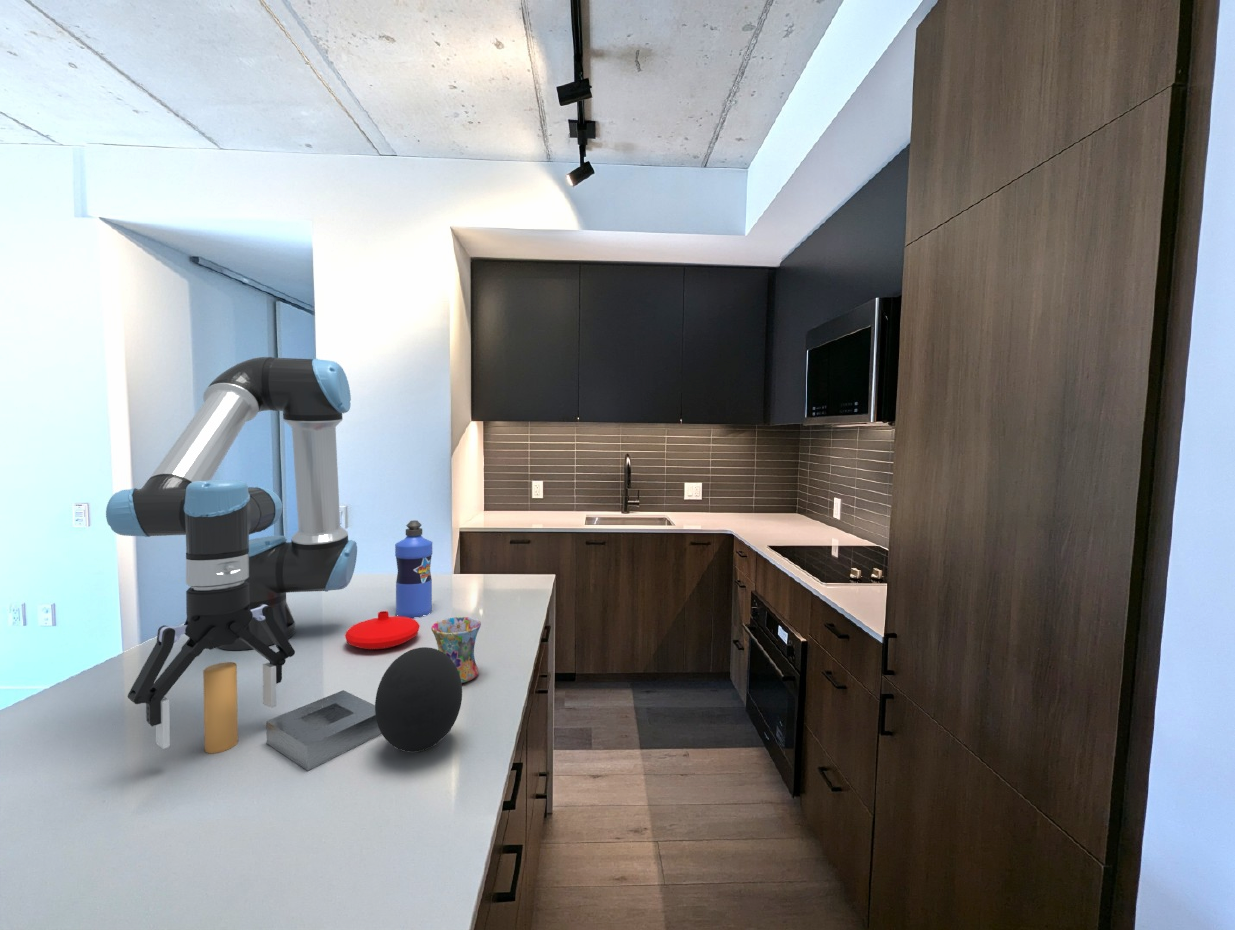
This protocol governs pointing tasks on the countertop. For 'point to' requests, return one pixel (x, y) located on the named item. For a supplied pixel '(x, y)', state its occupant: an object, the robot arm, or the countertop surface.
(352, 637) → the red pot lid
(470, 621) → the mug
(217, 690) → the orange cylindrical peg
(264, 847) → the countertop surface
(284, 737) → the grey peg socket
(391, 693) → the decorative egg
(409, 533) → the water bottle
